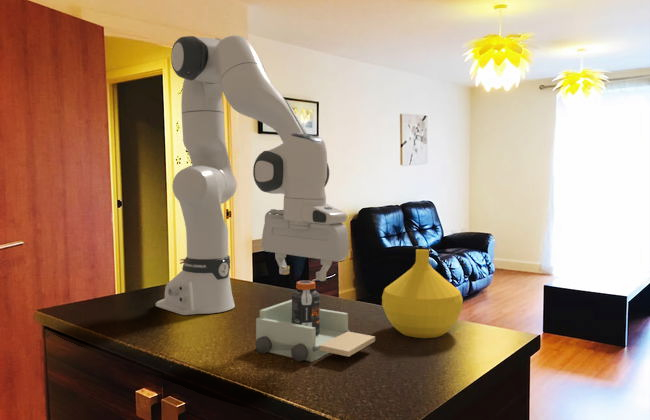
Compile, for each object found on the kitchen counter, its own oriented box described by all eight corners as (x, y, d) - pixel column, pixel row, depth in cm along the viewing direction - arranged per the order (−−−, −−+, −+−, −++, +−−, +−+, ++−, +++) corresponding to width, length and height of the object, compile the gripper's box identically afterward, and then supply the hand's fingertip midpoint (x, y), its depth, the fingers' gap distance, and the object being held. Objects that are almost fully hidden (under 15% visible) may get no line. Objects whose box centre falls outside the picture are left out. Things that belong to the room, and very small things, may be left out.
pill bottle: (316, 339, 108) (316, 285, 107) (288, 337, 109) (288, 283, 108) (322, 331, 114) (322, 279, 113) (295, 329, 115) (295, 278, 114)
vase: (464, 324, 128) (465, 246, 126) (459, 348, 110) (461, 257, 109) (389, 318, 133) (390, 243, 132) (374, 340, 116) (374, 254, 115)
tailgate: (319, 345, 103) (348, 351, 99) (347, 331, 112) (375, 336, 108) (319, 351, 103) (348, 357, 99) (347, 337, 112) (375, 342, 108)
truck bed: (252, 351, 108) (251, 312, 108) (298, 331, 122) (298, 297, 122) (311, 364, 100) (311, 323, 100) (353, 341, 114) (353, 305, 114)
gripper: (256, 209, 113) (254, 272, 114) (337, 216, 102) (335, 286, 103) (274, 207, 118) (272, 268, 119) (353, 214, 107) (351, 281, 108)
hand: (302, 277), depth 111 cm, fingers open, 8 cm apart
